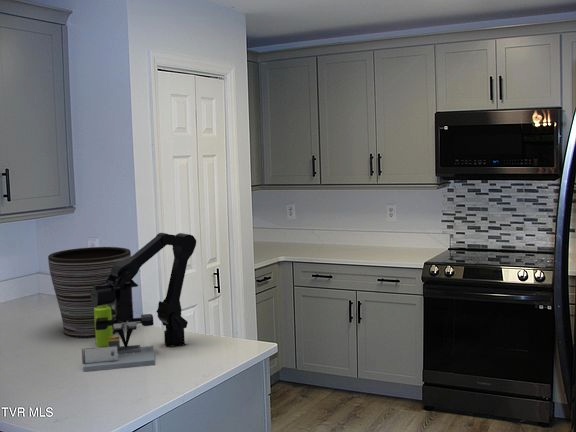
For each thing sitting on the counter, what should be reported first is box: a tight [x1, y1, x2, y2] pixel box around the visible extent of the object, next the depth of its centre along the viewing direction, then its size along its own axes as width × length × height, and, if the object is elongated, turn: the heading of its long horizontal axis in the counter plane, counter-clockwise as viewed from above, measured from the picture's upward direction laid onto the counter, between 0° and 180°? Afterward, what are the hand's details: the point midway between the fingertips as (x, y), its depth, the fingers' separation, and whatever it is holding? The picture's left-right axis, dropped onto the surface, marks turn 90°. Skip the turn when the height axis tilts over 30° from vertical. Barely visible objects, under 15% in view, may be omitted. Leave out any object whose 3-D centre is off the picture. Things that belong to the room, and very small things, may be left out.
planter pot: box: [47, 246, 132, 339], centre depth 256 cm, size 30×30×30 cm
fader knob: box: [108, 336, 121, 351], centre depth 224 cm, size 4×3×4 cm
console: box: [81, 344, 156, 372], centre depth 219 cm, size 22×16×6 cm
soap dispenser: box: [94, 304, 114, 347], centre depth 237 cm, size 6×7×20 cm
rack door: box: [85, 346, 118, 363], centre depth 213 cm, size 10×2×4 cm, turn 103°
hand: (125, 346), depth 225 cm, fingers closed
